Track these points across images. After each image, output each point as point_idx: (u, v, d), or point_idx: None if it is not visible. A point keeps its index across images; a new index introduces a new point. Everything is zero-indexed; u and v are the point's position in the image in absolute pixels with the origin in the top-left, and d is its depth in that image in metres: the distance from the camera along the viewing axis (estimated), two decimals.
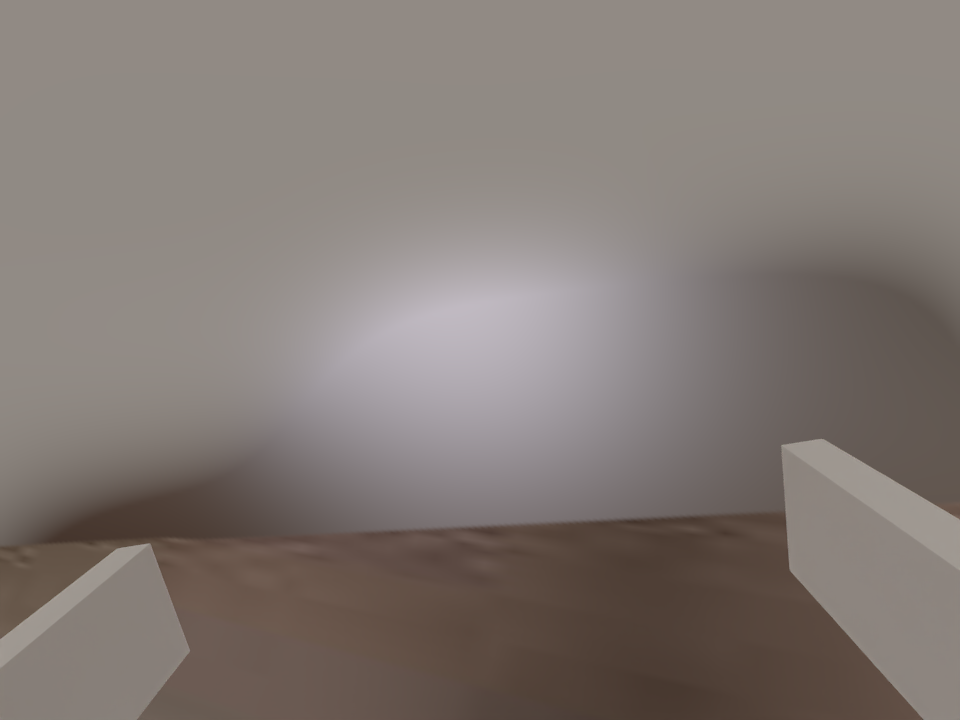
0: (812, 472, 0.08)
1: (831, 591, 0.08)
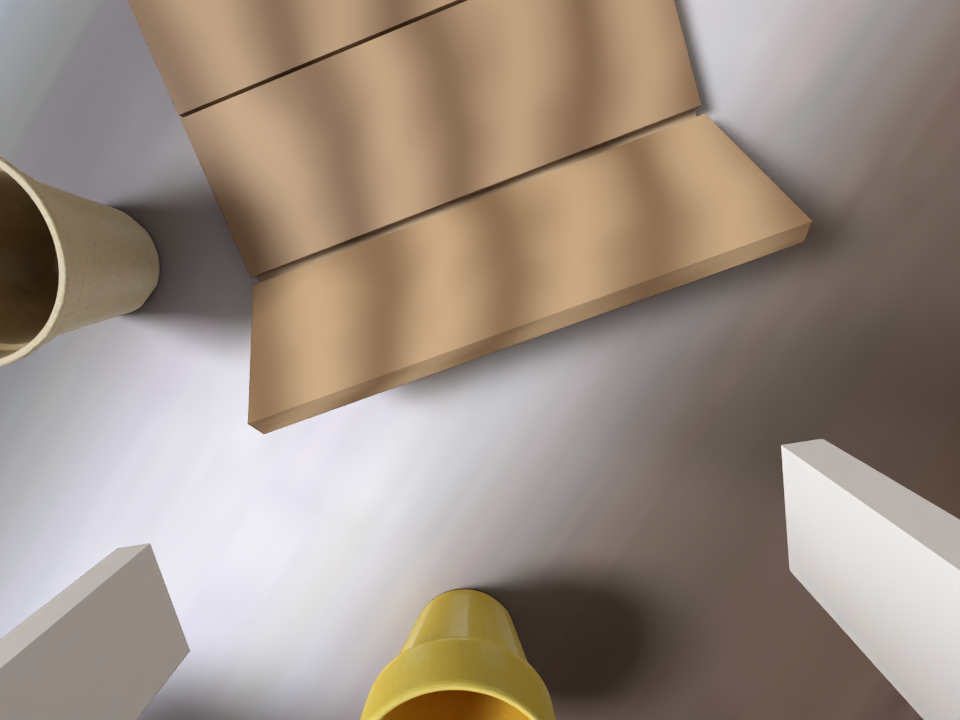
0: (812, 472, 0.08)
1: (831, 592, 0.08)
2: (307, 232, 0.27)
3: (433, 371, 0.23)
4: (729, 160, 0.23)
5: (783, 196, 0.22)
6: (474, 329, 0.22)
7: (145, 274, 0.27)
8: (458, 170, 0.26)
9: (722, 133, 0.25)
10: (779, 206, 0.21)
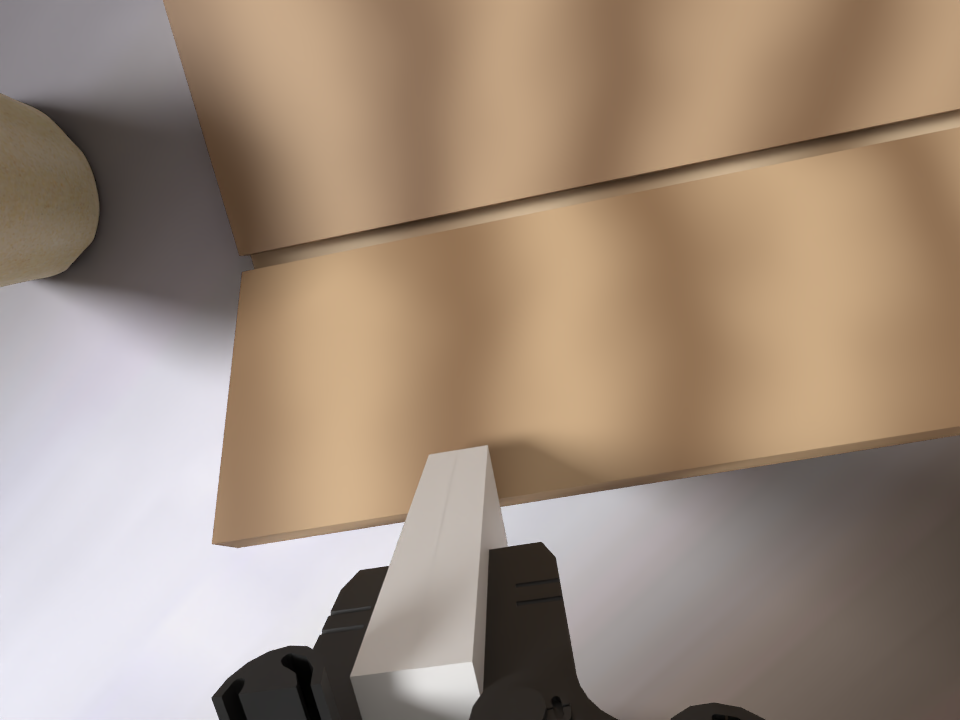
0: None
1: None
2: (341, 199, 0.17)
3: (535, 500, 0.13)
4: None
5: None
6: (624, 451, 0.13)
7: (69, 224, 0.17)
8: (605, 137, 0.16)
9: None
10: None
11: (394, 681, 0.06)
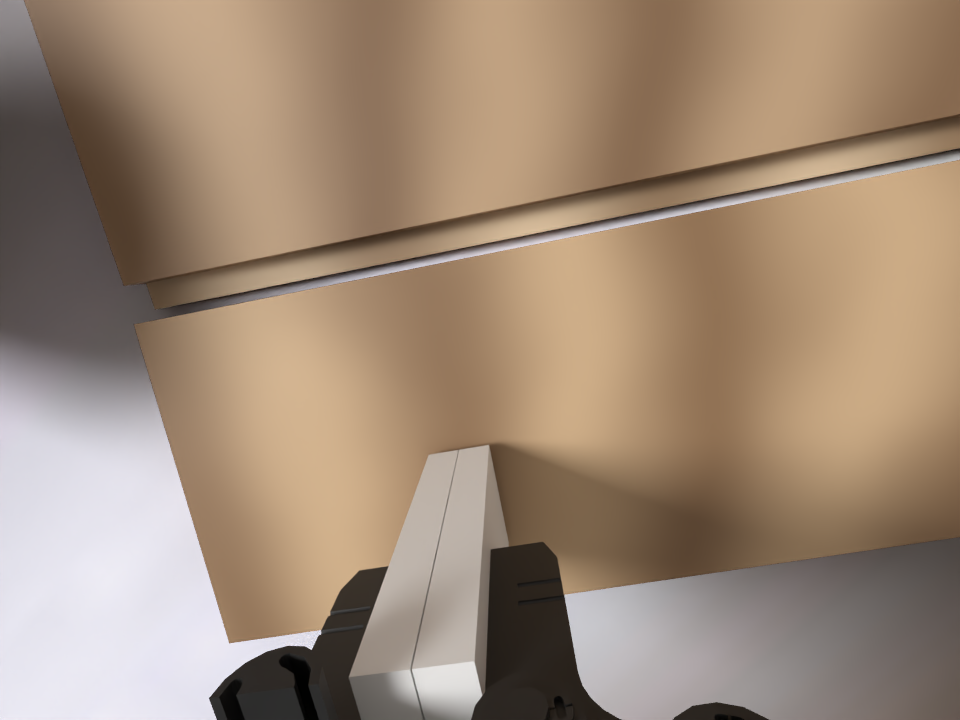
0: None
1: None
2: (264, 206, 0.12)
3: None
4: None
5: None
6: (629, 560, 0.13)
7: None
8: (642, 116, 0.11)
9: None
10: None
11: (392, 681, 0.06)
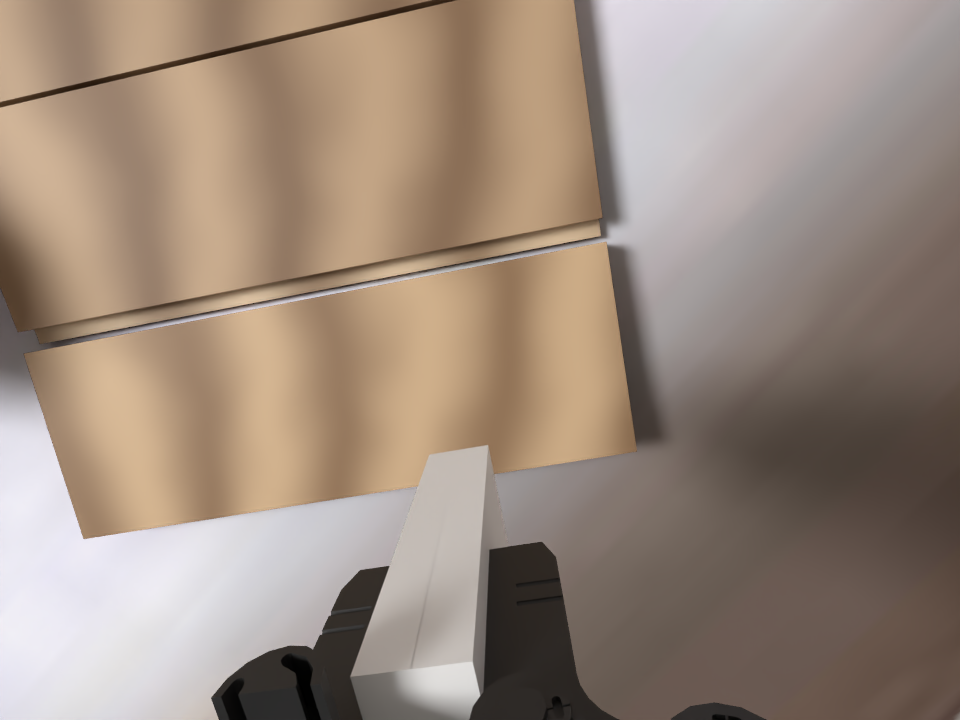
0: None
1: None
2: (91, 290, 0.21)
3: None
4: (600, 339, 0.21)
5: (627, 411, 0.21)
6: (305, 489, 0.22)
7: None
8: (286, 246, 0.21)
9: (611, 290, 0.20)
10: (618, 424, 0.21)
11: (394, 682, 0.06)
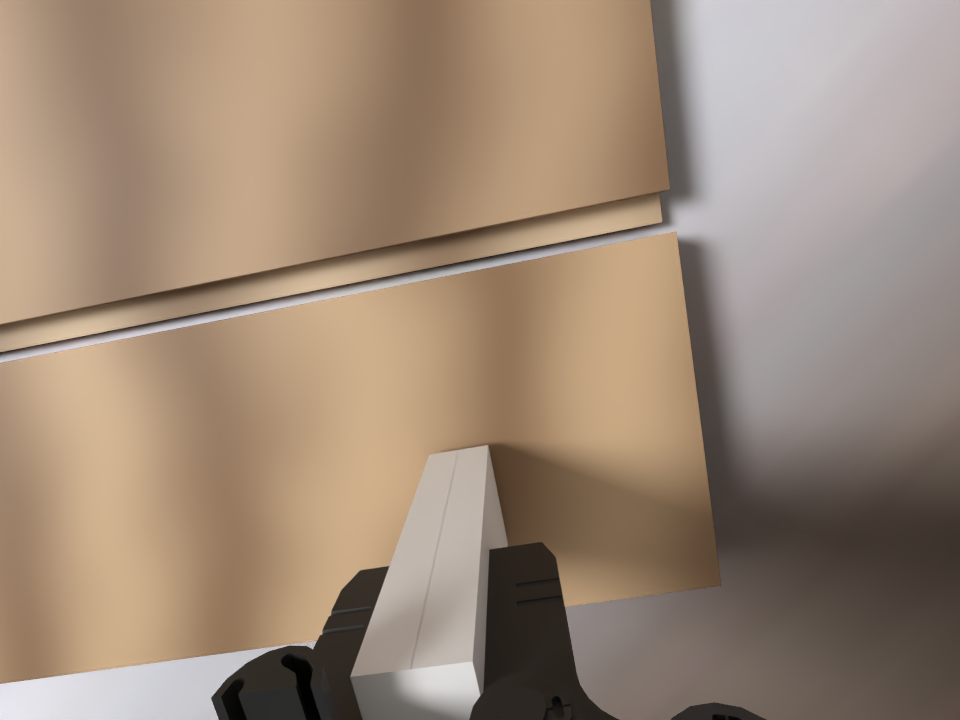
0: None
1: None
2: None
3: None
4: (663, 400, 0.12)
5: (707, 521, 0.12)
6: (175, 637, 0.14)
7: None
8: (122, 242, 0.12)
9: (682, 316, 0.12)
10: (690, 541, 0.12)
11: (394, 681, 0.06)
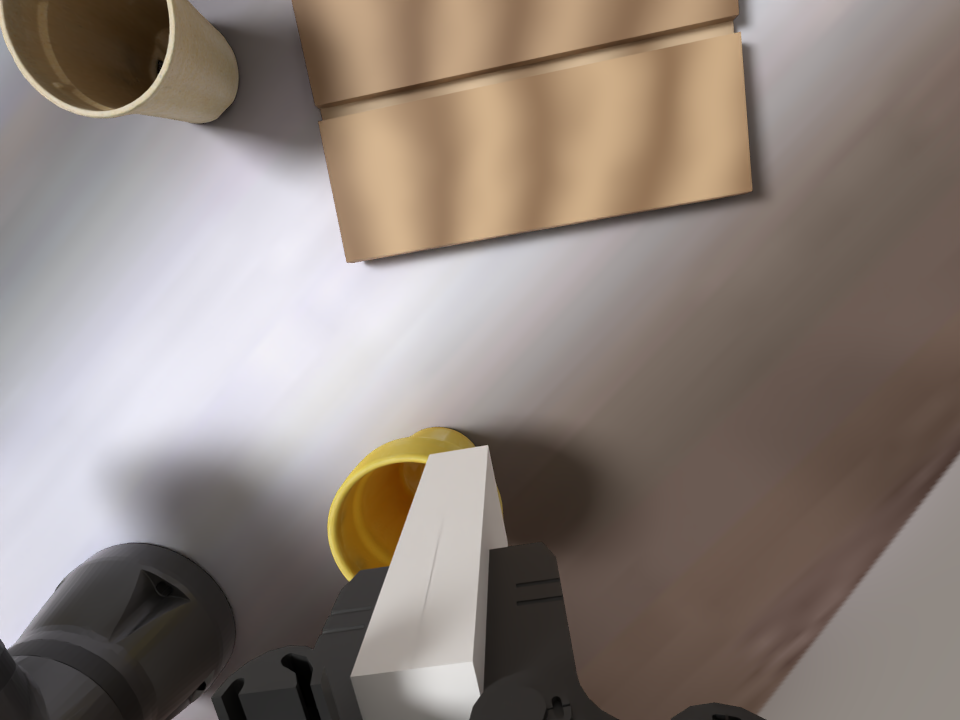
0: None
1: None
2: (371, 73, 0.31)
3: None
4: (731, 105, 0.29)
5: (747, 160, 0.30)
6: (509, 222, 0.32)
7: (226, 86, 0.31)
8: (512, 38, 0.30)
9: (741, 68, 0.29)
10: (740, 170, 0.30)
11: (394, 681, 0.06)
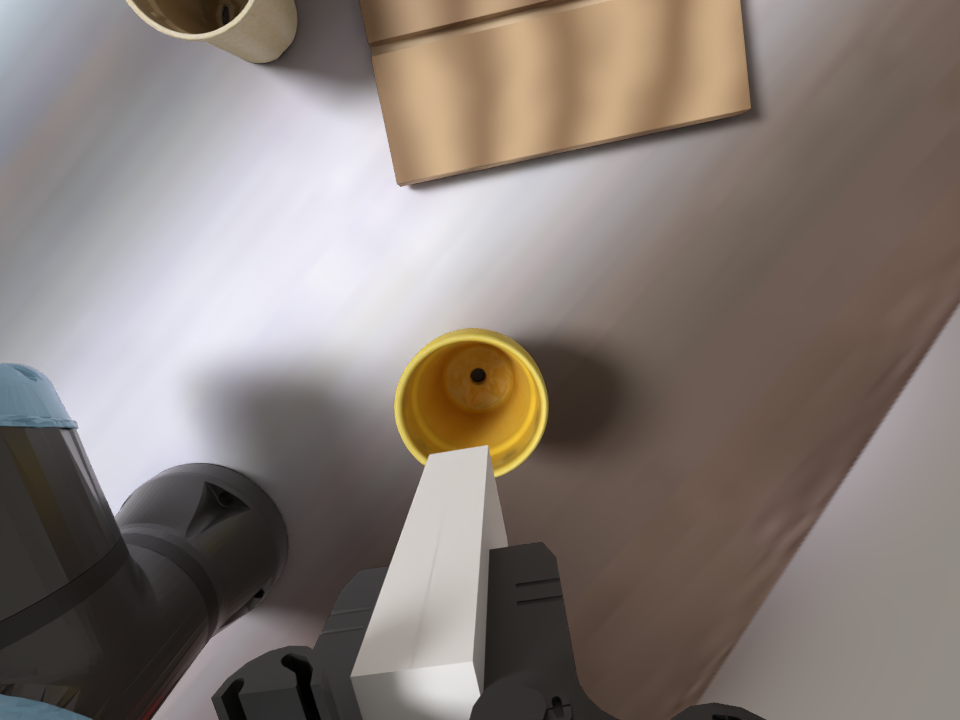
0: None
1: None
2: (418, 12, 0.35)
3: (510, 162, 0.37)
4: (731, 34, 0.34)
5: (746, 82, 0.35)
6: (542, 142, 0.36)
7: (288, 26, 0.35)
8: None
9: (738, 2, 0.34)
10: (740, 90, 0.35)
11: (394, 681, 0.06)
